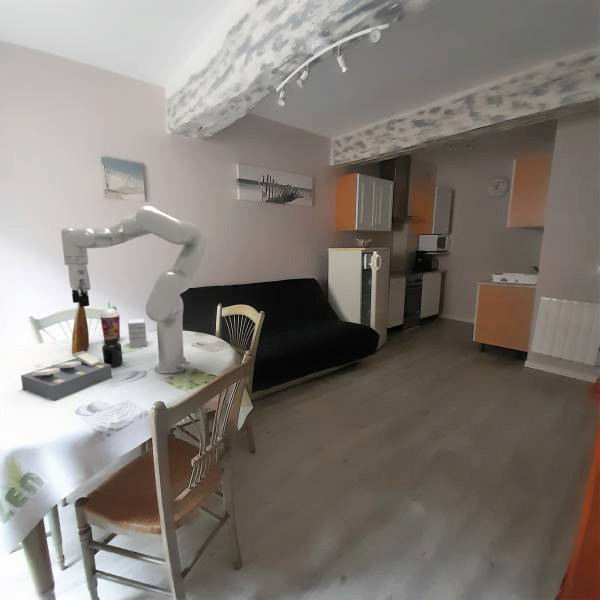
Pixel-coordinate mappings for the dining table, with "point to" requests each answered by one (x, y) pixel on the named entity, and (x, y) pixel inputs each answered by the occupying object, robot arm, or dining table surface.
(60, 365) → the rocker
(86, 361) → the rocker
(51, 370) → the rocker
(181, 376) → the dining table surface
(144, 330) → the supplement box
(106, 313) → the smoothie
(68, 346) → the dining table surface
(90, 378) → the console
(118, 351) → the supplement bottle
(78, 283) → the robot arm
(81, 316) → the pancake mix bag
